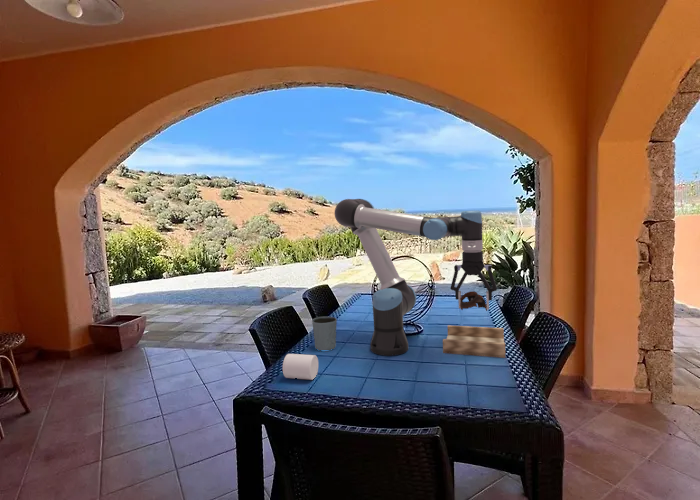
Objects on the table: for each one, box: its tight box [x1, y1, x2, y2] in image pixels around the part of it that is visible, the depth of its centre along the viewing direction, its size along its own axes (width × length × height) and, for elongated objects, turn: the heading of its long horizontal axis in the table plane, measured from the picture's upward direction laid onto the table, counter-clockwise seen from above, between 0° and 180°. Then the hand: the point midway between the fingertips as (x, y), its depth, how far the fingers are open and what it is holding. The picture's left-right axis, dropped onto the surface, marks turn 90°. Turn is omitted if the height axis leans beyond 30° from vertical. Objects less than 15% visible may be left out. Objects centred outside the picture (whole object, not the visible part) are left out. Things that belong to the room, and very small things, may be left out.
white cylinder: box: [282, 353, 319, 381], centre depth 131 cm, size 12×10×8 cm
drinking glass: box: [311, 315, 338, 351], centre depth 156 cm, size 10×10×12 cm
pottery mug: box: [460, 290, 488, 312], centre depth 147 cm, size 12×10×8 cm
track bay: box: [442, 324, 506, 359], centre depth 149 cm, size 22×19×5 cm
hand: (473, 308), depth 147 cm, fingers closed on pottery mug, 10 cm apart
